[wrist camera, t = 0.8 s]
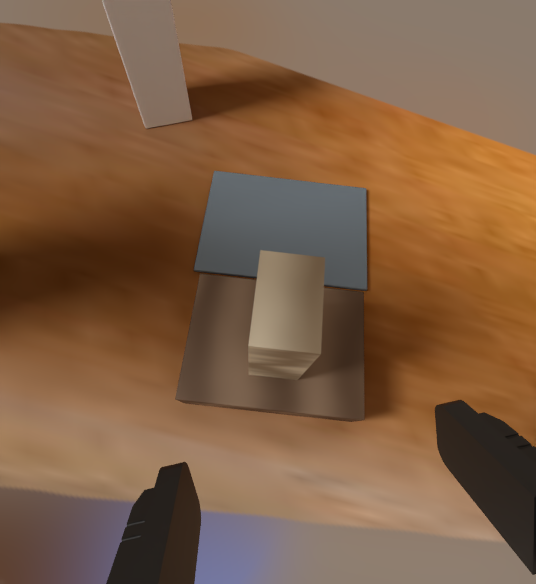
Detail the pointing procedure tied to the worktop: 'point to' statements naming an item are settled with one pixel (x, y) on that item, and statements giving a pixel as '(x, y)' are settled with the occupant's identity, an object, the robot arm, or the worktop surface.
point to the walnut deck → (268, 390)
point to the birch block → (286, 315)
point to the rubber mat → (284, 226)
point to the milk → (151, 58)
